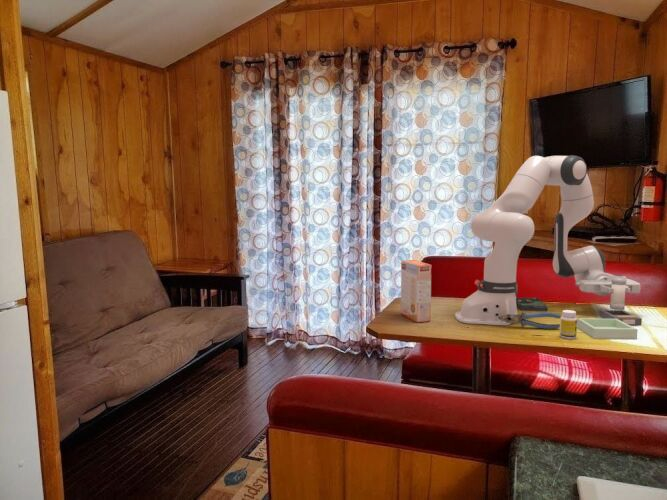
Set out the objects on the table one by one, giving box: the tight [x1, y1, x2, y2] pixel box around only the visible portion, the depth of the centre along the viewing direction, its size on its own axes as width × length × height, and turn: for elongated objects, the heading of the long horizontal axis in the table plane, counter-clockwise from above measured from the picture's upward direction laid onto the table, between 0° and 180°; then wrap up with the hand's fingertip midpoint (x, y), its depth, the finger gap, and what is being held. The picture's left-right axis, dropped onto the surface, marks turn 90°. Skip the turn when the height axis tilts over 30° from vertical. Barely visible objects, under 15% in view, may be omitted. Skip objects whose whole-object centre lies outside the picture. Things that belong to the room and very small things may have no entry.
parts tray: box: [576, 317, 639, 340], centre depth 163 cm, size 13×13×3 cm
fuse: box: [609, 277, 628, 311], centre depth 178 cm, size 5×5×11 cm
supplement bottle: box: [559, 309, 578, 340], centre depth 159 cm, size 5×5×8 cm
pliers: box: [498, 311, 562, 330], centre depth 170 cm, size 20×2×6 cm, turn 80°
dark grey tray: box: [599, 309, 643, 327], centre depth 178 cm, size 8×12×3 cm
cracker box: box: [400, 259, 432, 323], centre depth 184 cm, size 14×6×21 cm, turn 16°
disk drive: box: [516, 296, 548, 312], centre depth 201 cm, size 10×3×15 cm
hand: (619, 290), depth 177 cm, fingers closed on fuse, 4 cm apart
